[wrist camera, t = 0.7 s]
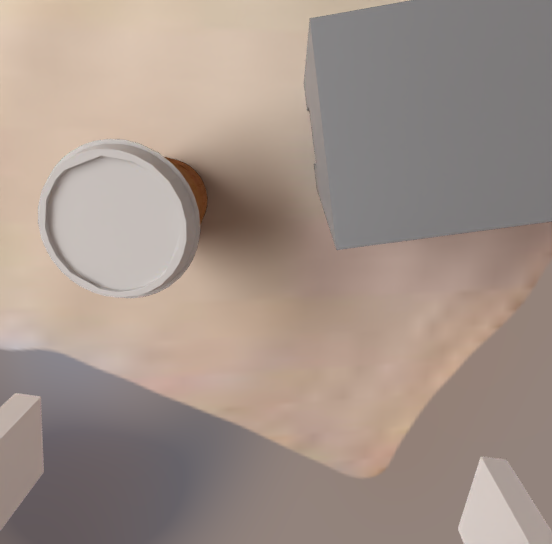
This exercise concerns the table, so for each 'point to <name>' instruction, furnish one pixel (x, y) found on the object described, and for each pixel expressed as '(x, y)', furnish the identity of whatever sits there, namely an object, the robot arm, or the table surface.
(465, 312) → the table surface
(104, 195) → the disposable coffee cup
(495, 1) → the gray cabinet
